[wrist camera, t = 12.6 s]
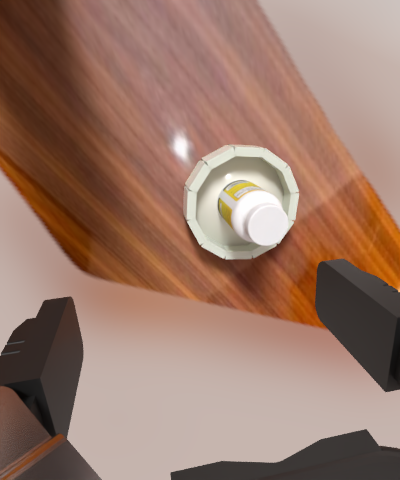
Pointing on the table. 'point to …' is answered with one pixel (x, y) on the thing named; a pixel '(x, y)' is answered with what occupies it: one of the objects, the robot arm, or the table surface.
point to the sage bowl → (216, 178)
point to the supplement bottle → (252, 212)
